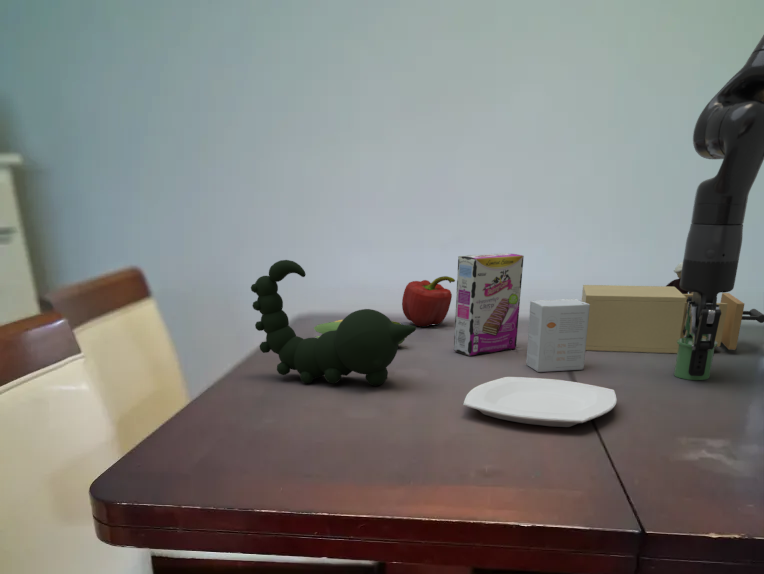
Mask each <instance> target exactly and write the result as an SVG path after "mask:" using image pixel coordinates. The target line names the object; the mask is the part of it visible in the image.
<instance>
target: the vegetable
mask: <svg viewBox="0 0 764 574" xmlns="http://www.w3.org/2000/svg"><path fill="white" fill-rule="evenodd" d="M444 281H448V282H449V284H452V283H455V282H456V280H455V278H454V277H451V276H447V275H444V276H439V277H437V278H435V279H434V280H433V281H429V280H427V279H423V280H420V281H419V280H412V281H410V282H408V283H407V284H406V286H405V288H404V291H403V293H402V298H401V299H402V301H401V307H402V308H401V309H402V312H403V315H404V316H405V318H406V320H408V321H410V322H411V323H412V324H413V325H414V326H416V327H421V326H427V327H429V326H431V325H430V324H438V325H439V324H441V323H443V321H444V320H445V318H446V317H447V315H448V313H449V309H450V306H451V302H452V297H453V294H452V291H451V290H450V289H449V288H444V287H443V285H442V284H440V283H441V282H444ZM428 325H429V326H428Z"/></svg>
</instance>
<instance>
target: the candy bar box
mask: <svg viewBox="0 0 764 574" xmlns="http://www.w3.org/2000/svg"><path fill="white" fill-rule="evenodd" d="M457 257H458V259H457V276H456V278H457V280H456V295H455V300H456V301H455V316H454V317H455V318H454V319H455V320H454V336H453V337H454V339H453V351H454V352H456V353H458V354H462V355H464V356H468V357H469V356H475V355H484V354H489V353H490V354H491V353H496V352H503V351H508V350H514V349H515V350H516V348H517V339H518V328H519V316H520V303H521V294H522V293H521V292H522V280H523V269H524V268H523V267H524V258H525V256H524V255H522V254H517V253H509V252H508V253H507V252H501V253H500V252H499V253H486V254H485V253H484V254H468V255H459V256H457Z"/></svg>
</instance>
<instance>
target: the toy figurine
mask: <svg viewBox="0 0 764 574" xmlns="http://www.w3.org/2000/svg"><path fill="white" fill-rule="evenodd" d="M290 274H297V275H299V276H300V277H301V278H305V277H306V270H305V269H304V267H302V266H301V265H300V264H299V263H297V262H295V261H294V260H289V259H282V260H278V261H276V262H274V263H273V264H272V265H271V266H270V267H269V270H268V275H262V276H259V277H258V278H257V279H256V281H255V282H254V283H253V284H251V286H250V290H251V292H252V293H254V294H256V295H257V298H256V299H257V300H255V301H253V302H252V305H251V306H252V308H253V310H254V311H257V312H259V313H260V314H261V317H260V321H259V320H258V321H256V323H255V324H254V325H255V326H254V327H255V329H256V330H257V331H259V332H261V331H264V333H265V334H266V336H265V341H261V343H260V344H259V350H260V351H261V352H262V353H263V354H266V353H267V354H268V353H270V351H272V352H273V353H274V354H277V355H278V358H279V360H280V362H279V363H278V364H277V365H276V371H277V373H278V374H279V375H280V376H281V375H282V376H287V375H288V374H289V373H291V370H293V371H296V372H298V374H299V378H300V381H301V382H302V383H304V384H305V383H308V384H311V383H312V382H313V381H314V379H318V378H321V377H324V379H325V380H326V382H328V384H329V383H330V384H336V383H338V382H340V380H341V379H342V376H345V377H347V376H348V375H350V374H351V373H353V372H354V373H356V374H359V375H360V374H361V375H365V380H366V382H367V383H368V384H369V385H371V386H374V387H375V386H376V387H377V385H378V386H380V385H383V384H384V383H385V382H386V380H387V379H388V375H389V370H388V368H387V367H389V366H390V365H391V364H392V362H393V361H394V360H395V357H396V355H397V353H398V350H399V345H400V344H399V342H400V341H402V340H403V339H404V338H405V339H407V338H406V337H409V336H410V335H412V334H413V333H414V332H415V331H416V330H417V326H416V325H411V324H402V323H400V324H394V323H393V322H392V321H393V320H392V319H390V317H388V316H387V315H386V314H384V313H382V312H380V311H379V310H376V309H372V308H364V309H363V308H362V309H358V310H355V311H352V312H351V313H349V314H348V315H346V316H345V317H344V318H343V319H341V320H342V321H341V323H340V324H339V326H338V328H337V330H335V331H328V332H325V333H324V334H322V333H321V335H319V336H320V337H319V338H317V337H306V338H303V337H300V336H298V335H297V334H296V332H295V330H294V329H293V328H292V326H290V325H289V324H290V321H289V320H290V319H289V316H288V314H287V313H286V312H285V311H284V310H283V309H284V308H283V307H284V300H283V298H282V296H281V295H280V294H279V285H278V282H281V281H283V280H284V279H285V278H286V277H287V276H288V275H290ZM398 344H399V345H398Z"/></svg>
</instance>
